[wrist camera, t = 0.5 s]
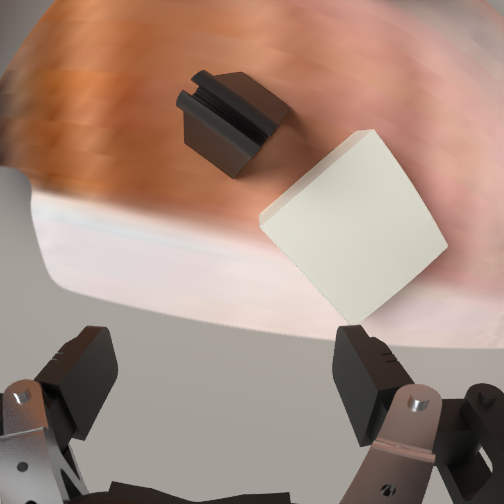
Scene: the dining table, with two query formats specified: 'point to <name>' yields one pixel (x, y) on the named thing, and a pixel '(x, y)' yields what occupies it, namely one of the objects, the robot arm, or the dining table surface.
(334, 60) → the dining table surface
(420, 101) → the dining table surface
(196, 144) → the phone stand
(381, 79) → the dining table surface
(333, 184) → the cream block
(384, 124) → the dining table surface
